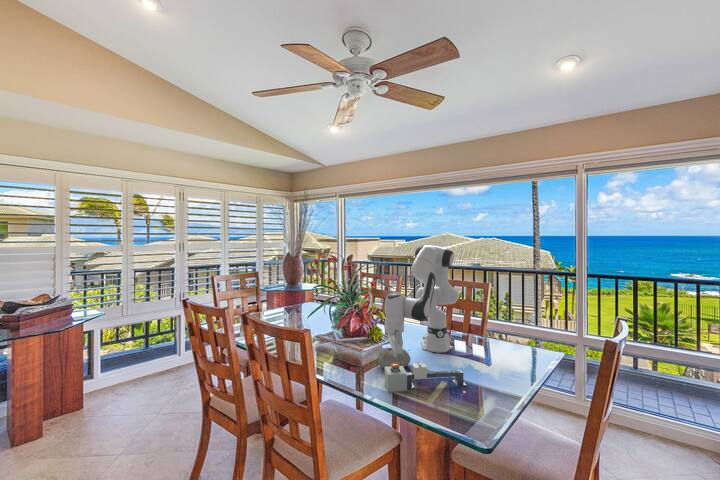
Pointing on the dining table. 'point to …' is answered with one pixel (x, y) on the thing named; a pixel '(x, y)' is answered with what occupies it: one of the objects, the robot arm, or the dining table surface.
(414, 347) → the dining table surface
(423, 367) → the carriage
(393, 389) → the push button box
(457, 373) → the rail
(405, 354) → the decorative shell
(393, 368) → the button
